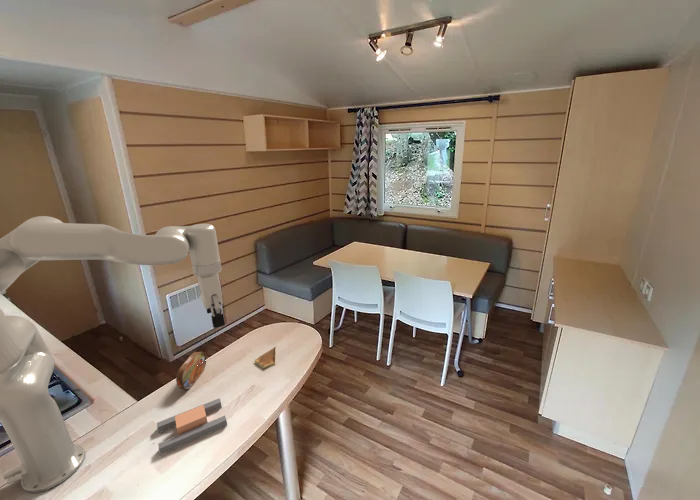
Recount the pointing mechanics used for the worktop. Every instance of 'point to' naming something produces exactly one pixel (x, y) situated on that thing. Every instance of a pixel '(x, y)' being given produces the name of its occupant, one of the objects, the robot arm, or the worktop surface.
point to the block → (190, 419)
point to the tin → (191, 370)
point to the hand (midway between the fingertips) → (215, 318)
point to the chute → (190, 434)
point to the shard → (267, 359)
